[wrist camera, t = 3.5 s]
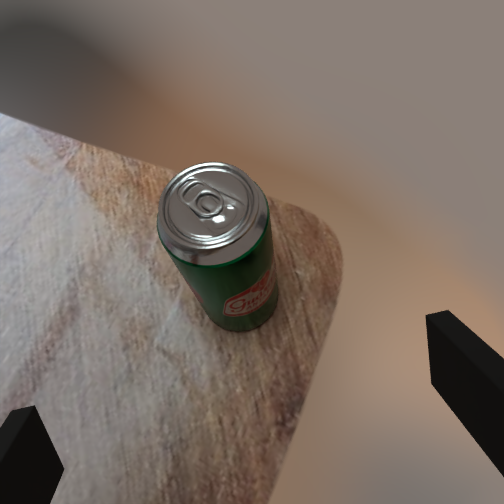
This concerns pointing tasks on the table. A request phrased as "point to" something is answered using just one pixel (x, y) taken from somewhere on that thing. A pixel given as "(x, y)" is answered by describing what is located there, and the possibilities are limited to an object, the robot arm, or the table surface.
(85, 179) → the table surface
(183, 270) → the soda can
